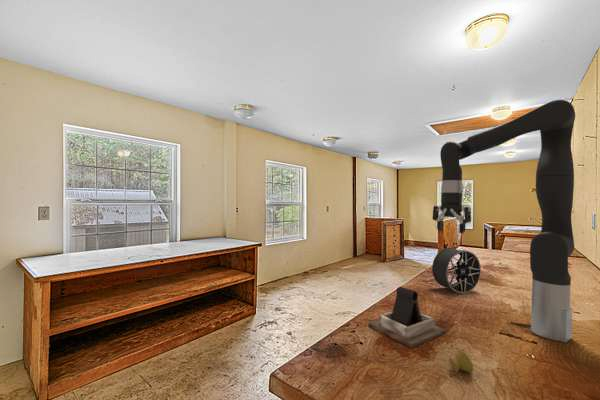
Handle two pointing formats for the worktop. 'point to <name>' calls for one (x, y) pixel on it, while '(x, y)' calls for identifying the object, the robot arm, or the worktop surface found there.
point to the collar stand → (408, 329)
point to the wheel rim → (457, 269)
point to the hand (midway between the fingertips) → (450, 232)
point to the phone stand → (406, 307)
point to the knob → (461, 362)
